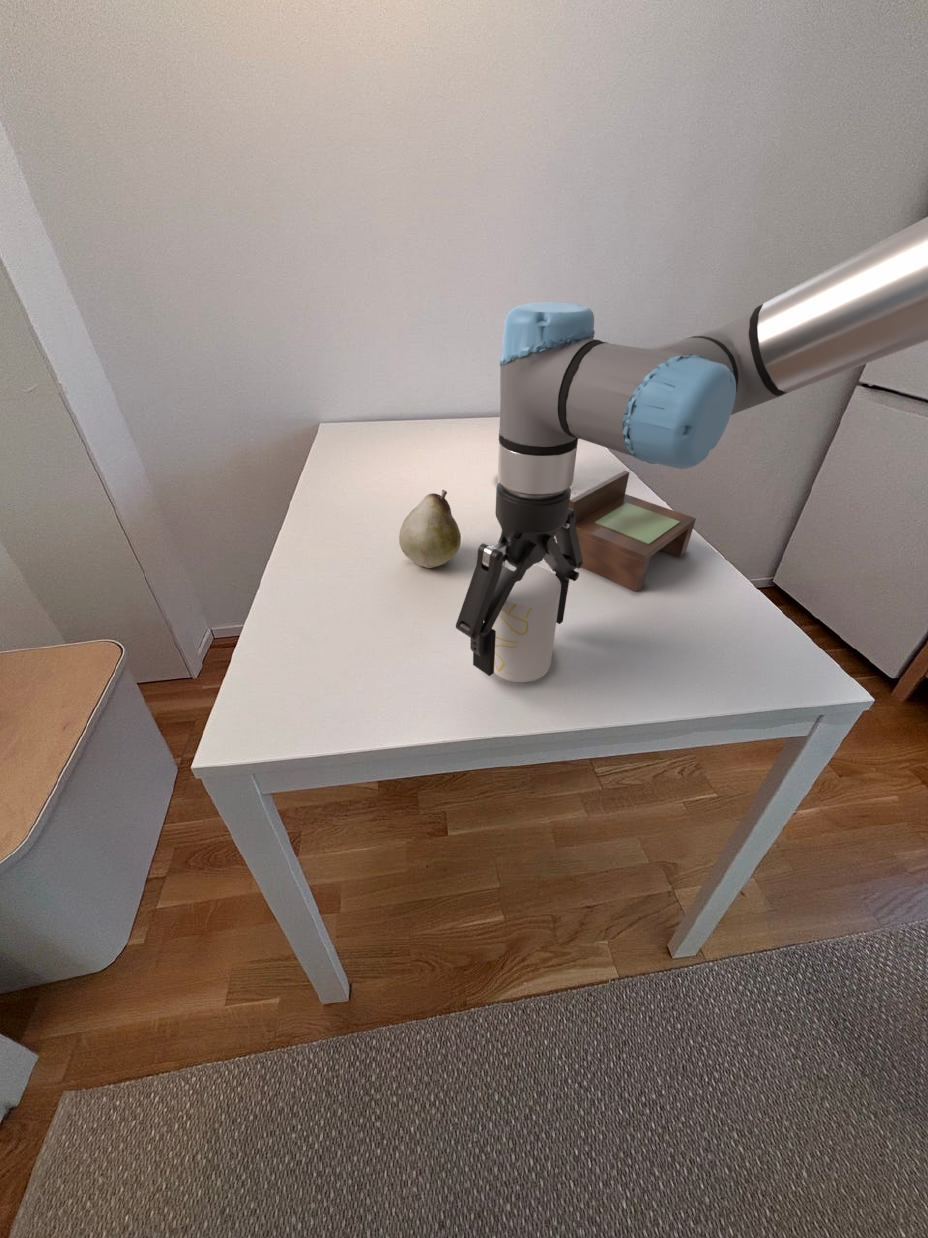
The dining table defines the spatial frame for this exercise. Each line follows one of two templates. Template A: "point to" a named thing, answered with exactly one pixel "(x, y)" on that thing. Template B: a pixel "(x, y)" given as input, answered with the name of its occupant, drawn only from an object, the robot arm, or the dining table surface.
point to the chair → (625, 532)
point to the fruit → (430, 532)
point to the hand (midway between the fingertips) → (520, 642)
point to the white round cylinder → (527, 626)
